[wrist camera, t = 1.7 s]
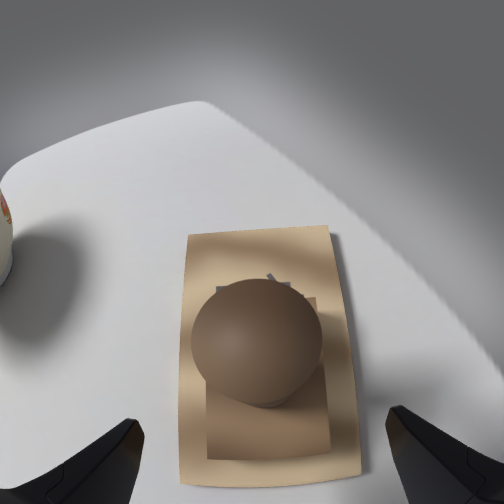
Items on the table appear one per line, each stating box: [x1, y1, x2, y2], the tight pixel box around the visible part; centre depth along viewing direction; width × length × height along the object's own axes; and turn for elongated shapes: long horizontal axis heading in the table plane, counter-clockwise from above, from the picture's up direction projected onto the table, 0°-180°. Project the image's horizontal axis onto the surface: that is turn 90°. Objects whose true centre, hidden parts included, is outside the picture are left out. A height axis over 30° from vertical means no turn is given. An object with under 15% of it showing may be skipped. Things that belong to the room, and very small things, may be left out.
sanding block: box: [191, 279, 331, 460], centre depth 13 cm, size 10×7×12 cm
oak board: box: [178, 225, 361, 487], centre depth 19 cm, size 20×12×1 cm, turn 2°
